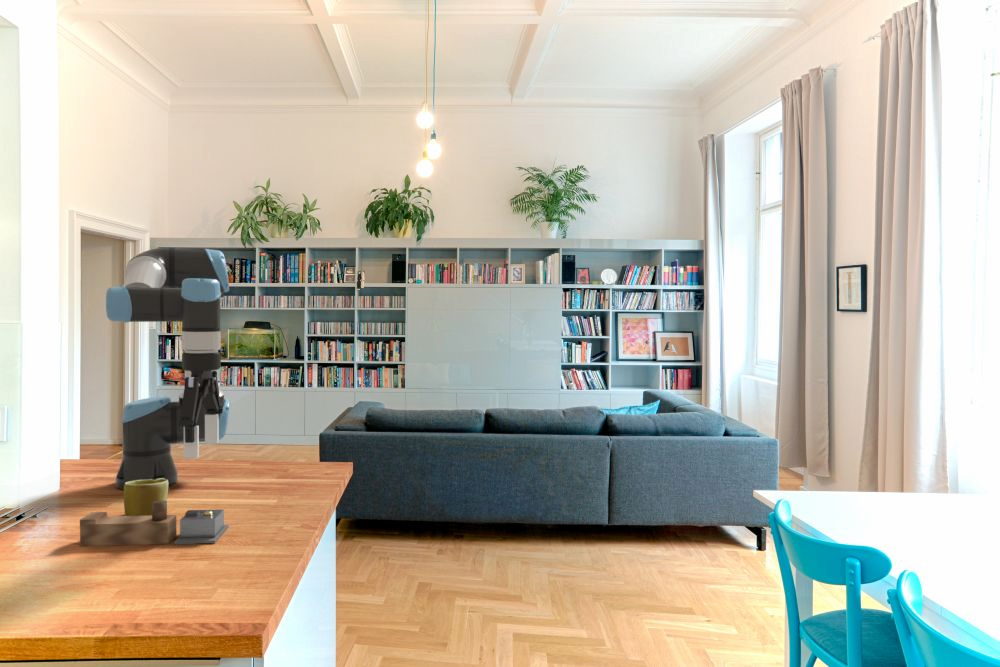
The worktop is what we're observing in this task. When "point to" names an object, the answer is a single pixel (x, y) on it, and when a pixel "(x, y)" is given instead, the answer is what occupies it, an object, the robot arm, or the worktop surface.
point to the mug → (143, 495)
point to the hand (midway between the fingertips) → (202, 450)
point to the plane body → (128, 528)
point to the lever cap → (201, 523)
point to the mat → (200, 540)
